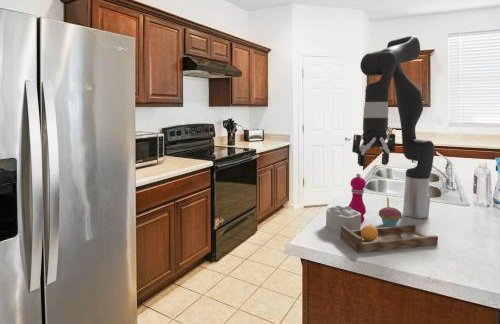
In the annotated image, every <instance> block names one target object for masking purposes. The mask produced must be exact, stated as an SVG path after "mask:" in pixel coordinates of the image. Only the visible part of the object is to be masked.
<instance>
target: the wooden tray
mask: <svg viewBox="0 0 500 324" xmlns="http://www.w3.org/2000/svg"><path fill="white" fill-rule="evenodd" d="M375 228H376V229H377V231H378V237H377V238H376V240H374V241H372V242H368V241H366V240H364V239H363V238H362V236H361V229H362V228H360V229H359V230H350V229H348V228H347V227H345V226H341V235H340V240H341V241H342V242H343V243H344V244H346V245H347V246H348V247H350V249H352V250H353V251H355V252H356V253H357V254H363V253H364V254H365V253H372V252H373V253H374V252H382V251H391V250H402V249H410V248H418V247H419V248H421V247H429V246H437V245H438V241H439V236H437V235H436V234H435V235H434V234H433V235H425V234H423V233H421V232H419V231H418V230H417V225H416V224H405V225H396V226H393V227H387V226H384V227H375Z"/></svg>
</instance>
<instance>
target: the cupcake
mask: <svg viewBox="0 0 500 324" xmlns="http://www.w3.org/2000/svg"><path fill="white" fill-rule="evenodd" d="M388 197H389V196H387V197H386V207H383V208H380V209H379V211H378V216H379V217H380V218H381V221H382V224H383V226H384V227H393V226H397V224H398V222H399V220H401V219H402V218H403V217H402V214H403V212H401V211H400V210H399V209H397V208H395V207H390V201H389V200H390V199H389V198H388Z"/></svg>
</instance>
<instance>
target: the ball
mask: <svg viewBox="0 0 500 324" xmlns="http://www.w3.org/2000/svg"><path fill="white" fill-rule="evenodd" d="M376 228H377V227H375V226H373V225H372V224H367V225H364V226H363V227H362V228H360V229H361V236H362V238H363V239H364V240H366V241H368V242H372V241H374V240H376V238H377V237H378V231H377V229H376Z"/></svg>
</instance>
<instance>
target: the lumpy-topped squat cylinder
mask: <svg viewBox="0 0 500 324" xmlns="http://www.w3.org/2000/svg"><path fill="white" fill-rule="evenodd" d="M325 215H326V216H325V217H326V218H325V229H326V230H327V231H329V232H331V233H332V234H336V235H339V236H341V226H345V227H347V228H348V229H350V230H359V229H361V226H362V222H361V213H360V212H358V211H355V210H353V209H352V208H351V207H350V206H349V205H348V206H345V207H344V206H341V205H335V206H331V207H328V208H326V214H325Z"/></svg>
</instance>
